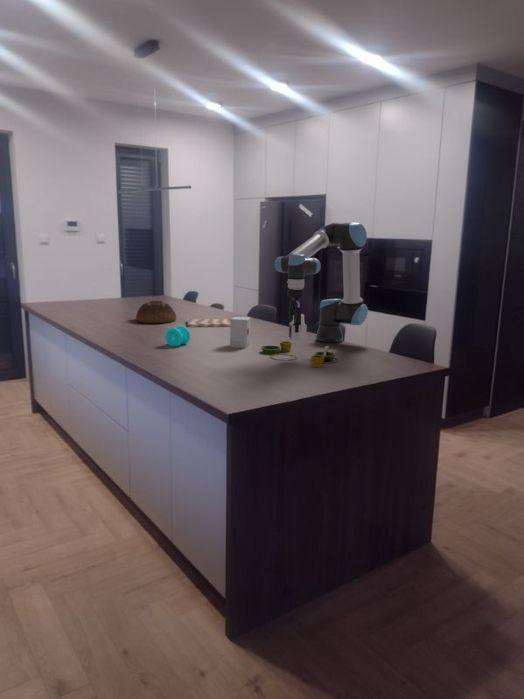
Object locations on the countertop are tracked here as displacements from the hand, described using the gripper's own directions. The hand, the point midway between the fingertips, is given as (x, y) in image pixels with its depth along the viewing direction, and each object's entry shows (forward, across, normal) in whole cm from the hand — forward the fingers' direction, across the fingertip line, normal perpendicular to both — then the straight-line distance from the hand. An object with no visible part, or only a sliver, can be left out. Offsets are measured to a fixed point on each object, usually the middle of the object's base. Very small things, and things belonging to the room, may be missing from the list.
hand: (293, 337), depth 251 cm
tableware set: (+12, -3, +4) cm, 13 cm away
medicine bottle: (+1, 0, +2) cm, 2 cm away
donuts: (+11, -36, -53) cm, 65 cm away
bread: (+11, -115, -66) cm, 133 cm away
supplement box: (+11, -32, -21) cm, 40 cm away
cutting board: (+11, -100, -31) cm, 105 cm away
